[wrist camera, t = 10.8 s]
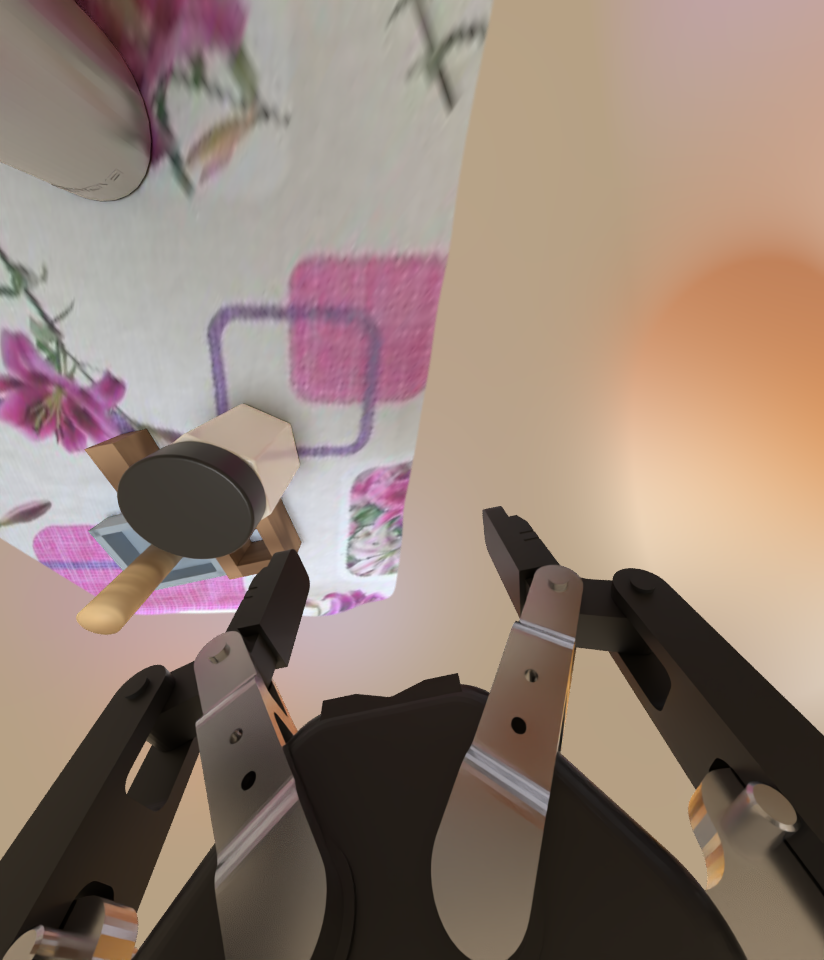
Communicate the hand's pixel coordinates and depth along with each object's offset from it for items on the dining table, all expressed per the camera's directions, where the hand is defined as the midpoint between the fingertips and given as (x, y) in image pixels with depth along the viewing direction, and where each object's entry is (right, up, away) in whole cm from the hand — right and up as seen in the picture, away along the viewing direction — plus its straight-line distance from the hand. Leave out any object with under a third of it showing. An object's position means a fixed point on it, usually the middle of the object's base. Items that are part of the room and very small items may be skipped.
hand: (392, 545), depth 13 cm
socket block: (-17, -2, +22) cm, 27 cm away
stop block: (-25, +4, +17) cm, 31 cm away
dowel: (-26, -4, +21) cm, 34 cm away
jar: (-15, +6, +18) cm, 24 cm away
